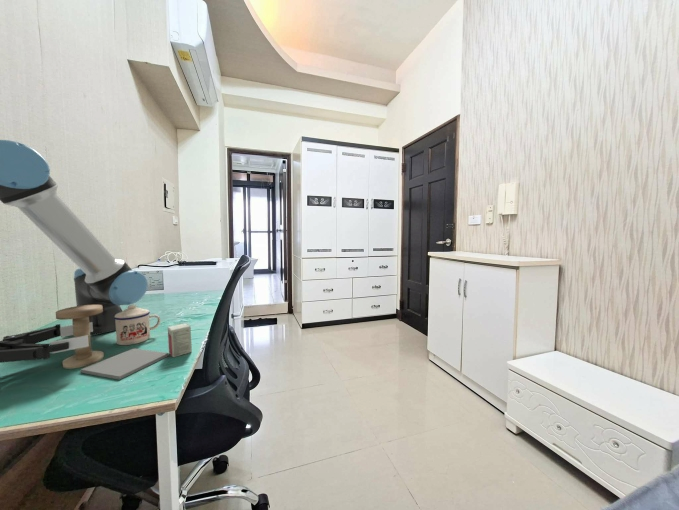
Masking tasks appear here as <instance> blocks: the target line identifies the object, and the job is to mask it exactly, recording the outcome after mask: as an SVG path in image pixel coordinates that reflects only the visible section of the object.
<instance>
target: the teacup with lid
mask: <svg viewBox="0 0 679 510" xmlns="http://www.w3.org/2000/svg"><path fill="white" fill-rule="evenodd" d="M127 306H128V307H127V308H125V309H123V310H122V312H120V313H117V314H116V315H115V317H114V319H115V323H116V330H115V335H116V336H115V338H116V343H117V345H120V346H130V345H135V344H136V345H137V344H140V343H142V342H146V341H147V340H149V339H150V338H151V331H153V330H155V329H157V328H158V327H159V325H160V324H161V318H160V316H159V315H158V314H150V313H151V312H150V310H149V309H146V308H140V307H137V306H136V304H130V305H127ZM150 318H157V322H156V324H155V325H154V326H152V327H151V326H150Z"/></svg>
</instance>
